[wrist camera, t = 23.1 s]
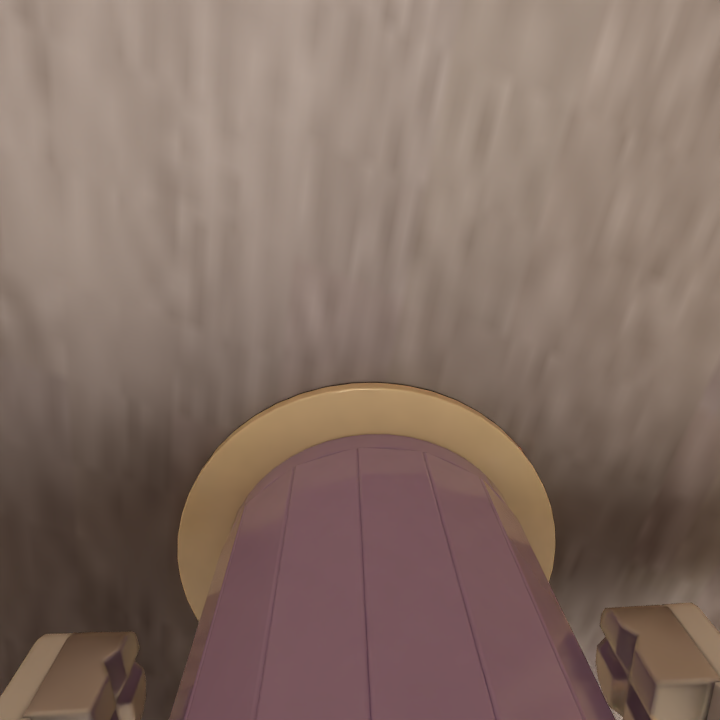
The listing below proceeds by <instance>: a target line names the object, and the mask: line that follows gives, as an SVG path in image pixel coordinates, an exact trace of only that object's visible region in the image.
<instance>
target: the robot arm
mask: <svg viewBox="0 0 720 720" xmlns="http://www.w3.org/2000/svg"><path fill="white" fill-rule="evenodd" d="M600 627H601V629H602V631H603V633H604V635H605V638H604V639H603V640H602V641H601V642H600V643H599V644H598V645H597V652H596V668H597V675H598V680H599V683H600V686H601V689H602V692H603V694H604V696H605V699H606V701H607V703H608V705H609V706H610V707H611V708H612V709H613V710H615V711H616V712H617V713H619V714H620V715H621V716H622V717H623V720H720V633H719V632H718V630H717V629H716V628H715V627H714V625H713V624H712V623H711V622H710V621H709V619H708V618H707V617H706V616H705V614H704V613H703V612H702V611H701V609H700V608H699V607H698V606H696V605H695V604H693V603H676V604H663V605H646V606H629V607H612V608H605V609H604V611H603V612H602V614H601V620H600ZM139 649H140V647H139V643H138V640H137V636H136V633H134V632H131V631H122V632H78V633H65V634H44V635H43V636H42V637H40V638H39V639H38V640H37V641H36V642H35V643H34V645H33V647H32V648H31V650H30V651H29V653H28V654H27V656H26V657H25V659H24V661H23V662H22V664H21V665H20V667H19V668H18V670H17V672H16V673H15V675H14V676H13V678H12V679H11V681H10V682H9V684H8V686H7V687H6V689H5V690H4V692H3V693H2V695H1V696H0V720H141V718H142V715H143V711H144V705H145V699H146V677H145V671H144V668H143V667H142V666H141V665H139V664H138V663H137V662H136V661H135V659H136V656H137V654H138V651H139Z"/></svg>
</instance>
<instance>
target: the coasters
mask: <svg viewBox="0 0 720 720" xmlns="http://www.w3.org/2000/svg"><path fill="white" fill-rule="evenodd" d="M364 434H391V435H399V436H407V437H412V438H416V439H420V440H424V441H428V442H431V443H433V444H436V445H438V446H441V447H444V448H446V449H448V450H450V451H452V452H454V453H456V454H458V455H459V456H461V457H463V458H465V459H466V460H468V461H469V462H470V463H472V464H473V465H474V466H476V467H477V468H479V469H480V470H481V471H482V472H483V473H484V474H485V475H486V476H487V477H488V478H489V479H490V480H491V481H492V482H493V483H494V485H495V486H496V487H497V488H498V490H499V491H500V492H501V494H502V495H503V497H504V498H505V500H506V502H507V504H508V506H509V508H510V509H511V511H512V512H513V514H514V515H515V516H516V517H517V519H518V521H519V522H520V524H521V526H522V528H523V530H524V533H525V535H526V537H527V539H528V541H529V543H530V545H531V547H532V549H533V551H534V553H535V555H536V557H537V559H538V561H539V563H540V565H541V568H542V570H543V572H544V574H545V576H546V578H547V580H548V582H549V580H550V576H551V573H552V569H553V563H554V555H555V524H554V519H553V514H552V509H551V505H550V502H549V499H548V496H547V494H546V491H545V488H544V485H543V484H542V482H541V480H540V478H539V476H538V475H537V473H536V471H535V469H534V467H533V466H532V464H531V462H530V461H529V459H528V458H527V457H526V456H525V454H524V453H523V452H522V450H521V449H520V448H519V446H518V445H517V444H516V443H515V442H514V441H513V440H512V439H511V438H510V437H509V436H508V435H507V434H506V433H505V432H504V431H503V430H502V429H501V428H500V427H499V426H497V425H496V424H495V423H493V422H492V421H490V420H489V419H488V418H486V417H485V416H483V415H482V414H481V413H479V412H477V411H475V410H474V409H472V408H470V407H468V406H466V405H464V404H462V403H460V402H458V401H456V400H454V399H451V398H448V397H446V396H443V395H440V394H438V393H435V392H432V391H428V390H423V389H419V388H415V387H410V386H405V385H396V384H386V383H352V384H345V385H338V386H331V387H325V388H321V389H318V390H314V391H310V392H306V393H303V394H299V395H297V396H295V397H292V398H290V399H287V400H285V401H282V402H280V403H277V404H275V405H273V406H272V407H270V408H268V409H266V410H265V411H263V412H261V413H259V414H258V415H256V416H254V417H253V418H251V419H250V420H249V421H247V422H246V423H245V424H243V425H242V426H241V427H239V428H238V429H237V430H235V431H234V432H233V433H232V434H231V435H230V436H229V437H228V438H227V439H226V440H225V441H224V442H223V443H222V444H221V445H220V446H219V447H218V448H217V449H216V450H215V452H214V453H213V454H212V456H211V457H210V458H209V460H208V461H207V462H206V464H205V465H204V466H203V468H202V469H201V471H200V473H199V475H198V477H197V479H196V481H195V482H194V484H193V486H192V488H191V490H190V492H189V495H188V498H187V501H186V503H185V506H184V509H183V512H182V515H181V521H180V526H179V531H178V548H177V558H178V565H179V572H180V578H181V582H182V585H183V588H184V592H185V595H186V598H187V600H188V602H189V604H190V606H191V608H192V610H193V613H194V615H195V616H196V618H197V620H198V621H200V618H201V615H202V611H203V608H204V605H205V602H206V598H207V595H208V592H209V589H210V585H211V582H212V579H213V576H214V573H215V569H216V566H217V563H218V560H219V556H220V553H221V550H222V548H223V546H224V545H225V543H226V541H227V539H228V536H229V532H230V529H231V526H232V524H233V521H234V519H235V517H236V514H237V512H238V510H239V508H240V507H241V505H242V503H243V502H244V500H245V499H246V497H247V495H248V494H249V493H250V492H251V491H252V489H253V488H254V487H255V486H256V485H257V483H258V482H259V481H260V480H261V479H263V478H264V477H265V476H266V475H267V474H268V473H269V472H270V471H271V470H272V469H274V468H275V467H277V466H278V465H280V464H281V463H282V462H284V461H285V460H287V459H288V458H290V457H292V456H294V455H296V454H298V453H299V452H301V451H303V450H305V449H307V448H310V447H313V446H315V445H318V444H321V443H323V442H326V441H330V440H334V439H338V438H343V437H347V436H356V435H364Z"/></svg>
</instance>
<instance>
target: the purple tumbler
mask: <svg viewBox="0 0 720 720" xmlns="http://www.w3.org/2000/svg"><path fill="white" fill-rule="evenodd" d="M169 720H615V718H614V716H613V714H612V712H611V710H610V708H609V706H608V704H607V702H606V699H605V697H604V695H603V693H602V691H601V689H600V687H599V685H598V683H597V681H596V679H595V677H594V675H593V673H592V671H591V669H590V666H589V664H588V662H587V660H586V658H585V656H584V654H583V652H582V650H581V648H580V646H579V644H578V642H577V640H576V638H575V636H574V634H573V631H572V629H571V627H570V625H569V623H568V621H567V619H566V617H565V615H564V613H563V611H562V609H561V607H560V605H559V603H558V601H557V598H556V596H555V594H554V592H553V590H552V588H551V586H550V584H549V582H548V580H547V578H546V576H545V574H544V572H543V570H542V568H541V565H540V563H539V561H538V559H537V557H536V555H535V553H534V551H533V549H532V547H531V545H530V543H529V541H528V539H527V537H526V535H525V533H524V530H523V528H522V526H521V524H520V522H519V521H518V519H517V517H516V516H515V515H514V514H513V512H512V511H511V509H510V508H509V506H508V504H507V502H506V500H505V498H504V497H503V495H502V494H501V492H500V491H499V490H498V488H497V487H496V486H495V485H494V483H493V482H492V481H491V480H490V479H489V478H488V477H487V476H486V475H485V474H484V473H483V472H482V471H481V470H480V469H479V468H477V467H476V466H474V465H473V464H472V463H470V462H469V461H468V460H466V459H465V458H463V457H461V456H459V455H458V454H456V453H454V452H452V451H450V450H448V449H446V448H444V447H441V446H438V445H436V444H433V443H431V442H428V441H424V440H420V439H416V438H412V437H407V436H399V435H391V434H364V435H356V436H347V437H343V438H338V439H334V440H330V441H326V442H323V443H321V444H318V445H315V446H313V447H310V448H307V449H305V450H303V451H301V452H299V453H298V454H296V455H294V456H292V457H290V458H288V459H287V460H285V461H284V462H282V463H281V464H280V465H278V466H277V467H275V468H274V469H272V470H271V471H270V472H269V473H268V474H267V475H266V476H265V477H264V478H263V479H261V480H260V481H259V482H258V483H257V485H256V486H255V487H254V488H253V489H252V491H251V492H250V493H249V494H248V495H247V497H246V499H245V500H244V502H243V503H242V505H241V507H240V508H239V510H238V512H237V514H236V517H235V519H234V521H233V524H232V526H231V529H230V532H229V536H228V539H227V541H226V543H225V545H224V546H223V548H222V550H221V553H220V556H219V560H218V563H217V566H216V569H215V573H214V576H213V579H212V582H211V585H210V589H209V592H208V595H207V598H206V602H205V605H204V608H203V611H202V615H201V618H200V621H199V624H198V627H197V631H196V634H195V637H194V640H193V644H192V647H191V650H190V653H189V657H188V660H187V663H186V666H185V669H184V673H183V676H182V679H181V682H180V686H179V689H178V692H177V695H176V699H175V702H174V705H173V708H172V711H171V715H170V718H169Z"/></svg>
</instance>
